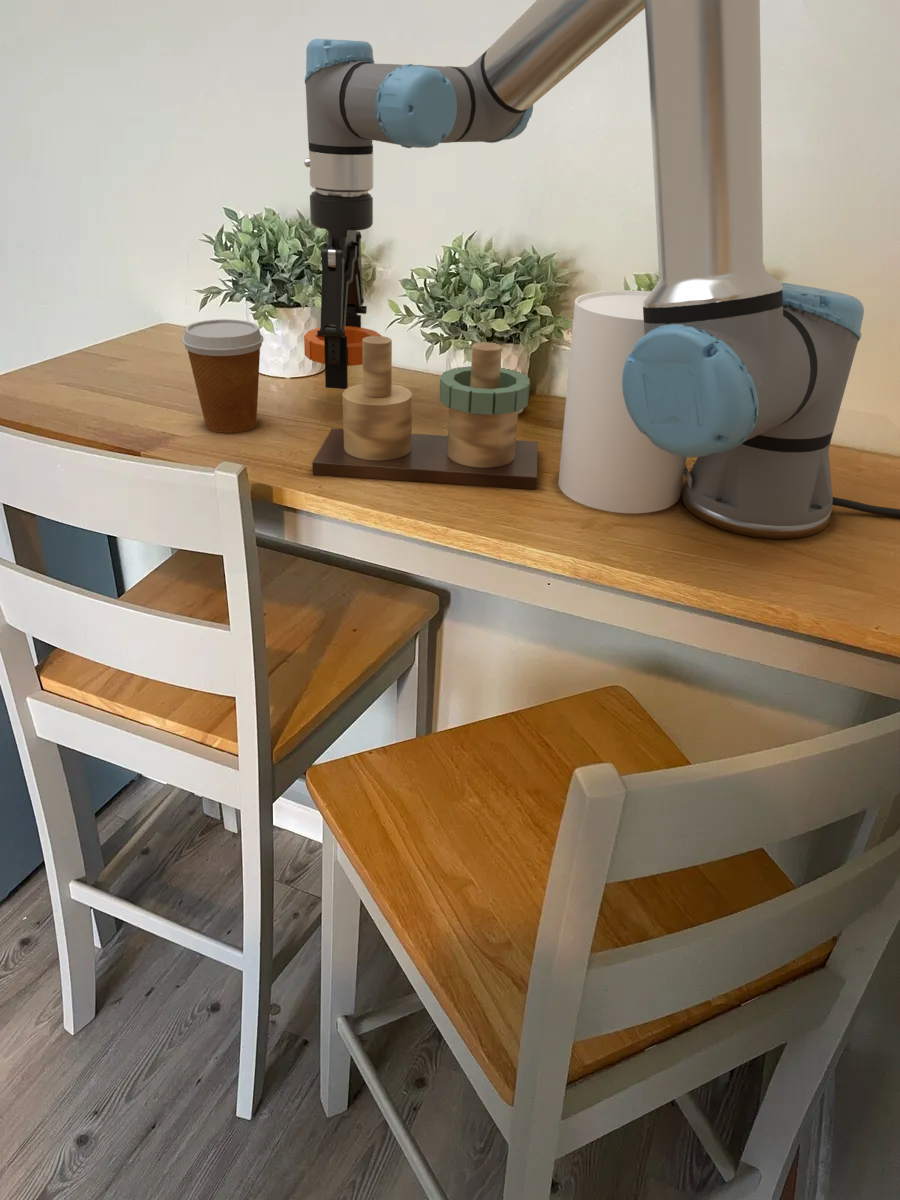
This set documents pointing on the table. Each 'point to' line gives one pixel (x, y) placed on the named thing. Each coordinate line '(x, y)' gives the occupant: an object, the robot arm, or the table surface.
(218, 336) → the disposable coffee cup
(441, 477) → the ring board
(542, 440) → the table surface
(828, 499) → the robot arm
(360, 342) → the orange ring
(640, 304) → the canister
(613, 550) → the table surface
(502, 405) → the sage ring
